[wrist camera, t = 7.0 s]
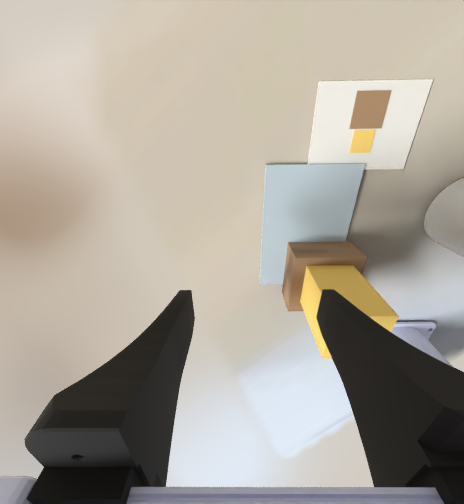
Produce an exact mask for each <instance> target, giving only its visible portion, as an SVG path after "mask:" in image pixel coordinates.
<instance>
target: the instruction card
mask: <svg viewBox="0 0 464 504" xmlns="http://www.w3.org/2000/svg"><path fill="white" fill-rule="evenodd" d="M432 82H433V79H422V80H365V81H319V83H318V90H317V98H316V105H315V112H314V119H313V126H312V134H311V141H310V148H309V155H308V162H307V164H343V163H364V164H365V167H364V170H371V169H403V168H404V165H405V162H406V159H407V156H408V153H409V150H410V147H411V144H412V141H413V138H414V136H415V133H416V130H417V127H418V124H419V121H420V118H421V115H422V112H423V109H424V106H425V103H426V100H427V97H428V94H429V91H430V88H431V85H432Z"/></svg>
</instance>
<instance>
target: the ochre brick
mask: <svg viewBox="0 0 464 504" xmlns="http://www.w3.org/2000/svg"><path fill="white" fill-rule="evenodd" d="M323 289H334V290H336V291H337V292H338V293H339V294H341V295H342V296H343V297H345V298H346V299H347V300H348V301H350V302H351V303H352V304H353V305H355V306H356V307H357V308H358V309H360V310H361V311H362V312H363V313H365V314H366V315H367V316H369V317H370V318H371V319H373V320H374V321H376V322H377V323H378V324H380V325H381V326H383V327H384V328H386V329H387V330H388V331H390V332H392V330H393V328H394V326H395V324H396V322H397V320H398V317H399V316H398V315H397V314H396V313H395V311H394V310H393V309H392V308H391V307H390V306H389V305H388V304H387V303H386V301H385V300H384V299H383V298H382V297H381V296H380V295H379V294H378V292H377V291H376V290H375V289H374V288H373V287H372V286H371V285H370V284H369V282H368V281H367V280H366V279H365V278H364V277H363V276H362V275H361V274H360V272H359V271H358V270H357V269H356V268H355V267H354V266H353V265H324V266H306V271H305V277H304V282H303V288H302V294H301V299H300V303H301V305H302V308H303V310H304V313H305V315H306V318H307V320H308V323H309V325H310V328H311V330H312V333H313V336H314V338H315V341H316V343H317V346H318V348H319V351H320V353H321V356H322V358H332V357H331V355H330V352H329V350H328V348H327V346H326V344H325V341H324V339H323V337H322V334H321V331H320V328H319V325H318V321H317V318H316V316H317V312H318V307H319V303H320V298H321V294H322V290H323Z"/></svg>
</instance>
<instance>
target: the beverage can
mask: <svg viewBox="0 0 464 504" xmlns="http://www.w3.org/2000/svg"><path fill="white" fill-rule="evenodd" d="M424 228H425V231H426V233H427V235H428V236H429V237H430V238H431V239H432V240H434V241H435V242H437V243H439V244H441V245H443V246H444V247H446V248H448V249H450V250H452V251H453V252H455V253H457V254H459V255H461V256H462V257H464V178H462V179H459V180H457V181H456V182H454V183H452V184H451V185H449V186H448V187H446V188H445V189H444V190H442V191H441V192H440V193H439V194H438V195H437V196H436V198H435V199H434V200H433V201H432V203H431V204H430V206H429V208H428V210H427V212H426V215H425V219H424Z"/></svg>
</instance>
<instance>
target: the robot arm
mask: <svg viewBox="0 0 464 504" xmlns="http://www.w3.org/2000/svg"><path fill="white" fill-rule="evenodd" d="M316 318H317V321H318V325H319V328H320V331H321V334H322V337H323V339H324V341H325V344H326V346H327V348H328V350H329V352H330V355H331V357H332V359H333V361H334V363H335V366H336V368H337V370H338V372H339V374H340V377H341V379H342V382H343V384H344V387H345V390H346V393H347V396H348V399H349V402H350V405H351V408H352V411H353V414H354V417H355V420H356V423H357V426H358V430H359V433H360V437H361V440H362V443H363V447H364V450H365V454H366V457H367V461H368V465H369V469H370V472H371V476H372V480H373V484H374V487H367V488H366V487H166V480H167V472H168V463H169V455H170V448H171V441H172V433H173V426H174V419H175V413H176V406H177V400H178V394H179V387H180V382H181V378H182V373H183V369H184V366H185V361H186V358H187V354H188V350H189V346H190V342H191V338H192V334H193V327H194V319H195V317H194V309H193V301H192V293H191V290H180V291H179V292H178V293H177V295H176V296H175V297H174V298H173V300H172V301H171V302H170V303H169V305H168V306H167V307H166V308H165V310H164V311H163V312H162V313H161V314H160V315H159V316H158V317H157V318H156V320H155V321H154V322H153V323H152V324H151V325H150V326H149V327H148V328H147V329H146V330H145V331H144V332H143V333H142V334H141V335H140V336H139V337H138V338H136V339H135V340H134V341H133V342H132V343H131V344H130V345H128V346H127V347H126V348H125V349H124V350H122V351H121V352H120V353H118V354H117V355H116V356H115V357H113V358H112V359H111V360H110V361H108V362H107V363H105V364H104V365H102V366H101V367H100V368H98V369H96V370H95V371H93V372H92V373H91V374H89V375H87V376H86V377H84V378H83V379H81V380H80V381H78V382H76V383H74V384H73V385H71V386H69V387H68V388H66V389H64V390H63V391H61V392H59V393H58V394H56V395H54V397H53V398H52V399H51V401H50V402H49V404H48V405H47V406H46V408H45V409H44V411H43V412H42V414H41V415H40V417H39V418H38V420H37V421H36V423H35V424H34V426H33V427H32V429H31V430H30V432H29V433H28V435H27V436H26V438H25V446H26V448H27V449H28V451H29V452H30V453H31V454H32V455H33V456H34V457H35V458H36V459H37V460H38V461H39V462H40V463H41V464H42V465H43V466H44V468H43V470H42V472H41V474H40V476H39V477H38V479H36V478H32V477H28V476H0V504H464V372H462V371H460V370H458V369H456V368H454V367H453V366H452V365H451V364H450V363H449V362H448V361H447V360H446V359H445V358H444V357H443V356H442V355H441V353H440V352H439V351H438V350H437V349H436V348H435V347H434V346H433V345H432V344H431V343H430V342H429V341H428V340H429V338H430V336H431V335H432V333H433V331H434V329H435V328H436V324H435V323H434V322H396V324H395V326H394V328H393V330H392V332H390V331H388V330H387V329H386V328H384V327H383V326H381V325H380V324H378V323H377V322H376V321H374V320H373V319H371V318H370V317H369V316H367V315H366V314H365V313H363V312H362V311H361V310H360V309H358V308H357V307H356V306H355V305H353V304H352V303H351V302H350V301H348V300H347V299H346V298H345V297H343V296H342V295H341V294H339V293H338V292H337V291H336V290H334V289H323V290H322V294H321V298H320V303H319V307H318V312H317V316H316Z"/></svg>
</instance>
